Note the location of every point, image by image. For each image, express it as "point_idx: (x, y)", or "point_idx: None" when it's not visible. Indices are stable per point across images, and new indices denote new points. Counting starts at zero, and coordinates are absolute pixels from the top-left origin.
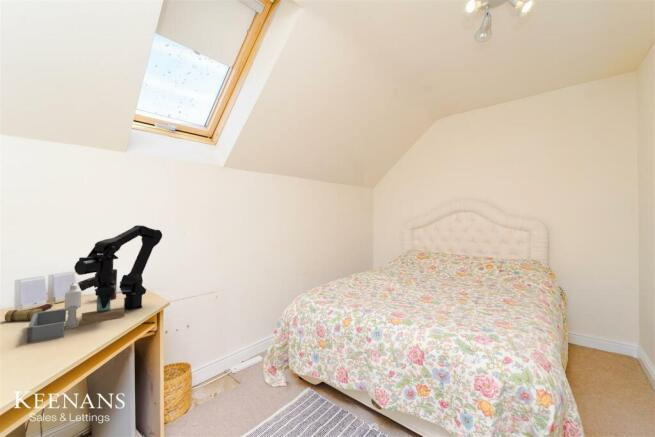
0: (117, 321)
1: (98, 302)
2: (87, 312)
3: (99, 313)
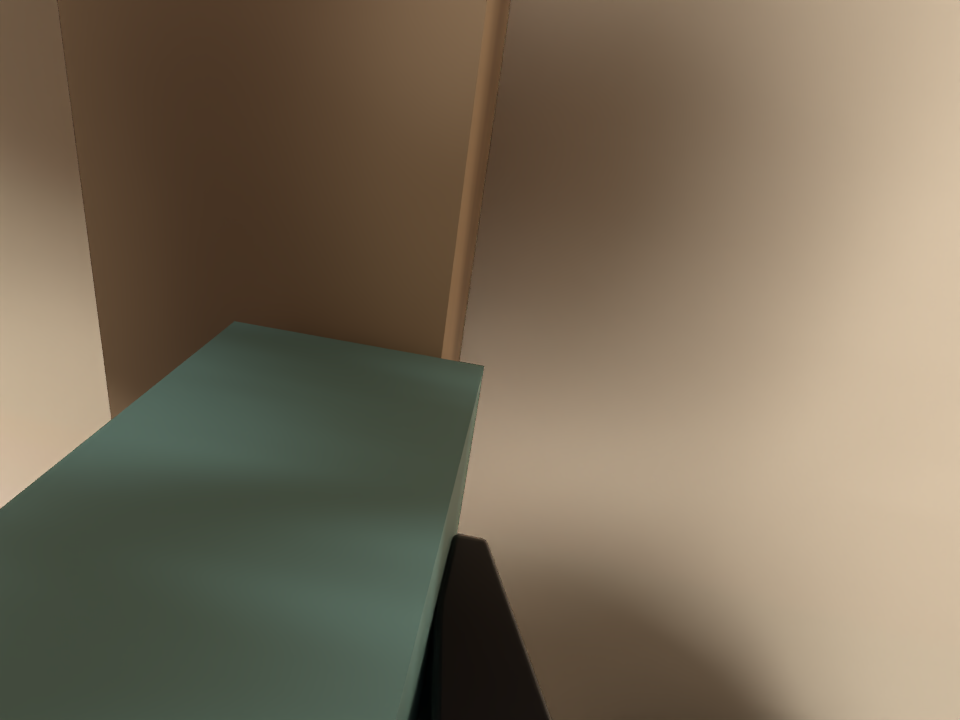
0: (8, 475)
1: (19, 542)
2: (434, 89)
3: (120, 333)
